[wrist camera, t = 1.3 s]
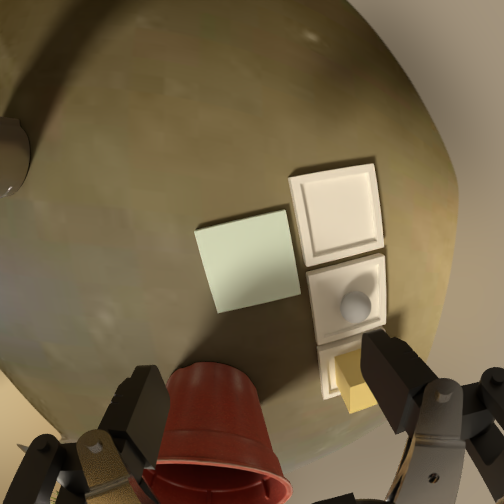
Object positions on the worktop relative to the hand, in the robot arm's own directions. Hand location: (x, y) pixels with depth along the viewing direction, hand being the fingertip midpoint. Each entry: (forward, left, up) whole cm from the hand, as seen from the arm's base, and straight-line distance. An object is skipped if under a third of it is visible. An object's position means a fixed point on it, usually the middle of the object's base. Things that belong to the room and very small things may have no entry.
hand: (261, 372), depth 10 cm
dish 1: (-1, +10, -19) cm, 22 cm away
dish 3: (+19, +10, -19) cm, 29 cm away
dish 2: (+9, +10, -19) cm, 23 cm away
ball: (+9, +10, -18) cm, 23 cm away
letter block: (+19, +10, -18) cm, 28 cm away
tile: (+2, 0, -19) cm, 19 cm away
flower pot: (+19, -9, -19) cm, 28 cm away
